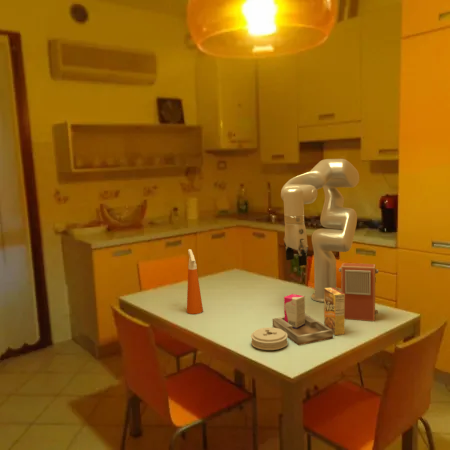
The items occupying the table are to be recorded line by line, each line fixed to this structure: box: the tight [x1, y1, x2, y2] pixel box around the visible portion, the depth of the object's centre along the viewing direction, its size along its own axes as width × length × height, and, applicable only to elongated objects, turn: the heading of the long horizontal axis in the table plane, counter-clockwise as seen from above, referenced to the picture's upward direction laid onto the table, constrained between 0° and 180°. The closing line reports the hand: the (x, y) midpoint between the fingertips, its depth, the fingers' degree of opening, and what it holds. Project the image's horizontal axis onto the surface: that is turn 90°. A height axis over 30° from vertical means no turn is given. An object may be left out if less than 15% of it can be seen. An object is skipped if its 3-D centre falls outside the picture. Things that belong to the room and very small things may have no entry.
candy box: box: [323, 287, 346, 336], centre depth 174 cm, size 9×4×15 cm, turn 15°
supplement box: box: [283, 293, 306, 329], centre depth 179 cm, size 6×6×12 cm
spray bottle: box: [186, 248, 204, 315], centre depth 203 cm, size 7×11×26 cm, turn 14°
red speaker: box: [338, 262, 380, 322], centre depth 186 cm, size 21×7×15 cm
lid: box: [250, 326, 289, 351], centre depth 165 cm, size 13×13×5 cm
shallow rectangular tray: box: [272, 313, 334, 346], centre depth 175 cm, size 14×20×3 cm
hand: (296, 262), depth 186 cm, fingers open, 9 cm apart
